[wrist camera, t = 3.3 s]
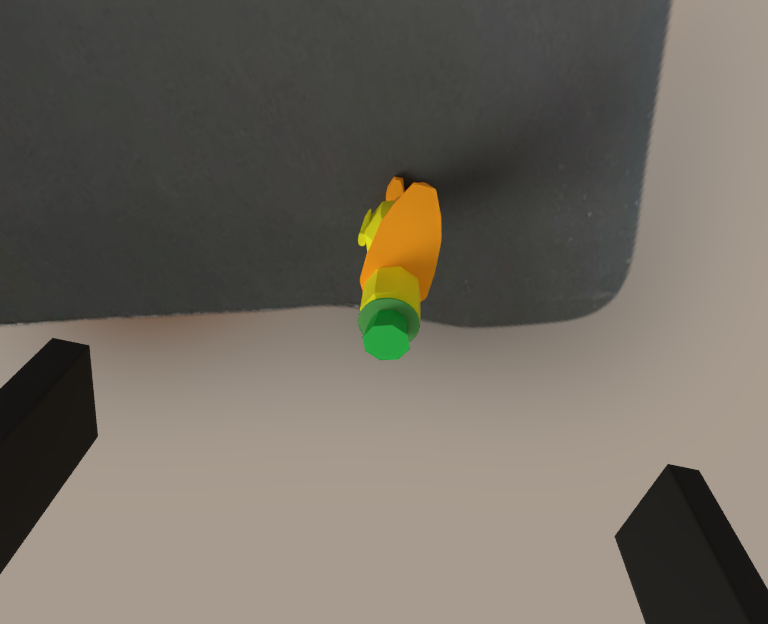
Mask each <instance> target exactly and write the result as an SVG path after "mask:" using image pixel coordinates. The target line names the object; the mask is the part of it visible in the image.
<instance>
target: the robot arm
mask: <svg viewBox="0 0 768 624" xmlns="http://www.w3.org/2000/svg"><path fill="white" fill-rule="evenodd" d="M94 402H95V401H94V390H93V380H92V370H91V359H90V348H89V345H84V344H79V343H75V342H70V341H65V340H60V339H55V338H52V339H51V340H50V341H49V342H48V343H47V344H46V345H45V346H44V347H43V348H42V349H41V350H40V351H39V352H38V353H37V354H36V355H35V356H34V357H32V358H31V359H30V360H29V361H28V362H27V363H26V364H25V365H24V366H23V367H22V368H21V369H20V370H19V371H18V372H17V373H16V374H15V375H14V376H13V377H12V378H11V379H10V380H9V381H8V382H7V383H6V384H5V385H4V386H3V387H2V388H0V574H1V572H2V571H3V569H4V568H5V567H6V565H7V564H8V563H9V561H10V560H11V558H12V557H13V556H14V554H15V553H16V551H17V550H18V548H19V547H20V546H21V544H22V543H23V541H24V540H25V539H26V537H27V536H28V534H29V533H30V532H31V530H32V528H33V527H34V526H35V524H36V523H37V522H38V520H39V519H40V517H41V516H42V515H43V513H44V512H45V510H46V509H47V507H48V506H49V505H50V503H51V502H52V500H53V499H54V498H55V496H56V495H57V493H58V492H59V491H60V489H61V488H62V486H63V485H64V483H65V482H66V481H67V479H68V478H69V476H70V475H71V474H72V472H73V471H74V469H75V468H76V467H77V465H78V464H79V462H80V461H81V459H82V458H83V457H84V455H85V454H86V452H87V451H88V449H89V448H90V447H91V445H92V444H93V443H94V441H95V440H96V438H97V437H98V433H97V423H96V411H95V403H94ZM615 539H616V542H617V544H618V547H619V550H620V553H621V556H622V558H623V561H624V564H625V567H626V570H627V572H628V575H629V578H630V581H631V583H632V586H633V589H634V592H635V595H636V598H637V601H638V603H639V606H640V609H641V612H642V614H643V617H644V620H645V623H646V624H768V589H767V587H766V586H765V584H764V582H763V581H762V579H761V577H760V575H759V573H758V572H757V570H756V568H755V567H754V565H753V563H752V561H751V560H750V558H749V556H748V554H747V553H746V551H745V549H744V547H743V546H742V544H741V542H740V541H739V539H738V537H737V535H736V534H735V532H734V530H733V529H732V527H731V525H730V523H729V521H728V520H727V518H726V516H725V515H724V513H723V511H722V510H721V508H720V506H719V504H718V502H717V501H716V499H715V497H714V496H713V494H712V492H711V490H710V489H709V487H708V485H707V483H706V482H705V480H704V478H703V476H702V475H701V473H700V472H699V470H695V469H690V468H685V467H680V466H675V465H670V464H668V465H667V466H666V467H665V469H664V470H663V471H662V473H661V474H660V476H659V477H658V478H657V480H656V481H655V482H654V484H653V485H652V486H651V488H650V489H649V490H648V492H647V493H646V494H645V496H644V497H643V498H642V500H641V501H640V503H639V504H638V505H637V507H636V508H635V509H634V511H633V512H632V513H631V515H630V516H629V518H628V519H627V520H626V522H625V523H624V524H623V526H622V527H621V528H620V530H619V531H618V532H617V534H616V535H615Z"/></svg>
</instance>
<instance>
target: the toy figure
mask: <svg viewBox="0 0 768 624" xmlns="http://www.w3.org/2000/svg"><path fill="white" fill-rule="evenodd" d="M441 240H442V236H441V213H440V208H439V203H438V197H437V192H436V189H435V188H433V187H431V186H430V185H428V184H427V183H425V182H421V183H416V182H414V183H413V184H412V185H411V186H410V187H409V188H408V189H407V190H406V191H405V188H404V181H403V178H400V177H395V176H394V177H393V179H392V181H391V182H390V184H389V185H388V188H387V192H386V201H382V203H381V204H380V205H379V206H378V208H377V209H376V210H375V211H374V213H373V214H372V215H371V209H370V210H369V211H368V213H367V214H366V216H365V218H364V221H363V224H362V227H361V230H360V233H359V237H358V242H359V245H360V246H364V245H365V243H366V245H367V251H368V253H367V255H366V259H365V262H364V266H363V270H362V273H361V277H360V283H361V287H362V290H363V296H362V301H361V307H360V314H359V318H358V325H359V328H360V331H361V333H362V334H363V342H364V347H365V351H366V352H368V353H369V354H371V355H373V356H374V357H376V358H378V359H379V360H395V359H399V358H400V357H401V356H403V355H404V354H405V353H406V352H407V351H408V350H409V342H410V341H412V340H413V339H414V338H415V337H416V335H417V333H418V331H419V327H420V302H421V301H423V300H424V299H425V298H426V297H427V294H428V291H429V288H430V286H431V283H432V280H433V277H434V274H435V269H436V265H437V260H438V255H439V250H440V245H441Z"/></svg>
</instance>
